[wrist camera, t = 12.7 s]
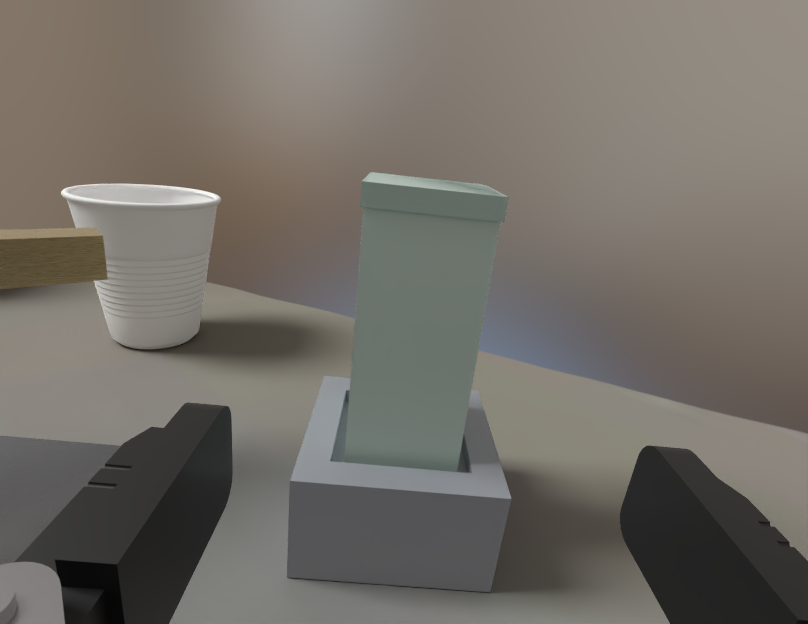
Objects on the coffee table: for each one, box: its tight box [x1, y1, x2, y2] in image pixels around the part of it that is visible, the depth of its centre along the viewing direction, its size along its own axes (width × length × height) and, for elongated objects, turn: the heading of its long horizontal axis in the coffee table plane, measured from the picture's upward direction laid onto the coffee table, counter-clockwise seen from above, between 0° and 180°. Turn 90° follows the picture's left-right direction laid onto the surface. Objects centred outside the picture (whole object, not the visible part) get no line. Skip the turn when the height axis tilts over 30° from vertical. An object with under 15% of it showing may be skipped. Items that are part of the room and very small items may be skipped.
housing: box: [287, 376, 511, 592], centre depth 21 cm, size 8×8×5 cm
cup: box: [61, 184, 221, 349], centre depth 35 cm, size 10×10×11 cm
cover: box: [344, 172, 509, 472], centre depth 19 cm, size 5×5×11 cm
